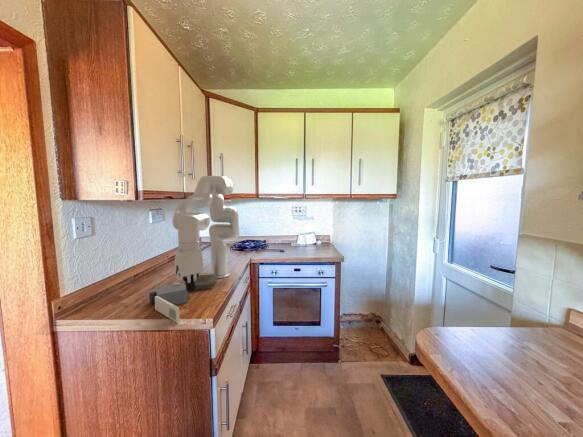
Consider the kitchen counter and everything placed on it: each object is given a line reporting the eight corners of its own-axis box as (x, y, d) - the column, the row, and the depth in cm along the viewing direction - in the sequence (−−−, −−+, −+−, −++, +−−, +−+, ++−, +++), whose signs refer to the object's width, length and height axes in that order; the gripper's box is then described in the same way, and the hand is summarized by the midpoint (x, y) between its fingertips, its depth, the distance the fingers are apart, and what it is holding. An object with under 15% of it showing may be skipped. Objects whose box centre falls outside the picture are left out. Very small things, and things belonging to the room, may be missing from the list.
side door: (157, 308, 100) (157, 295, 100) (179, 321, 89) (179, 307, 89) (154, 309, 99) (153, 296, 99) (175, 323, 88) (175, 308, 88)
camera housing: (148, 300, 109) (148, 286, 108) (183, 294, 117) (182, 280, 116) (150, 310, 99) (150, 294, 99) (188, 302, 107) (187, 287, 107)
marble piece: (181, 292, 120) (180, 284, 120) (186, 282, 134) (186, 275, 134) (216, 289, 124) (215, 281, 124) (217, 280, 138) (217, 273, 138)
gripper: (200, 241, 102) (201, 283, 104) (165, 248, 90) (167, 294, 92) (211, 244, 98) (212, 287, 100) (175, 250, 86) (177, 300, 88)
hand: (190, 291), depth 96 cm, fingers closed
